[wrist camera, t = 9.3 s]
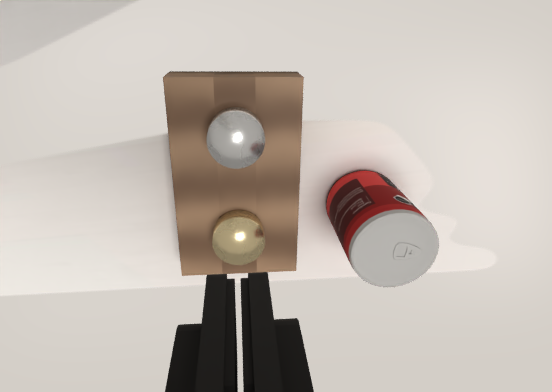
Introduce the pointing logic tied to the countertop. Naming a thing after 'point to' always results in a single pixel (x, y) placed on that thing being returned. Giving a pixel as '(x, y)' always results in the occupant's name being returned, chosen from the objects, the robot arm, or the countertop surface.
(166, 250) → the countertop surface
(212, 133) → the steel button
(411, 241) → the canned food
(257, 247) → the brass button
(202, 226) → the button block
